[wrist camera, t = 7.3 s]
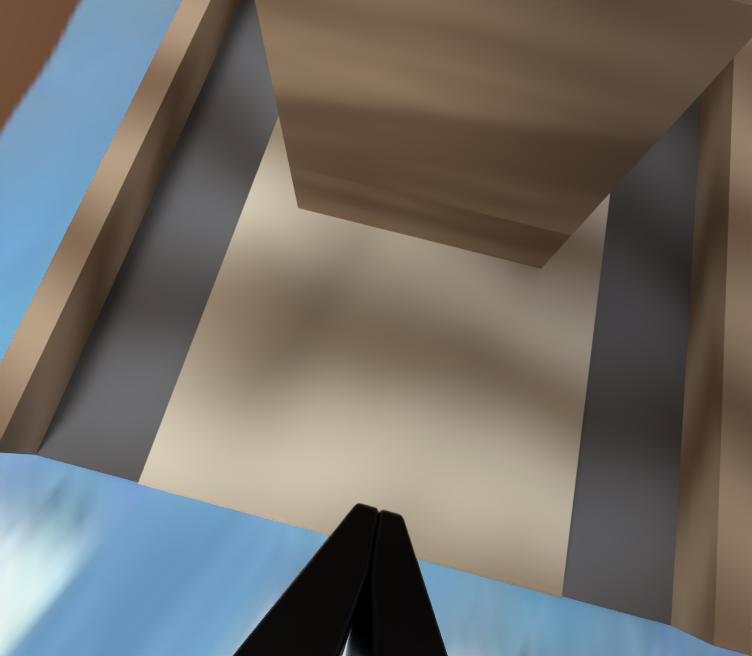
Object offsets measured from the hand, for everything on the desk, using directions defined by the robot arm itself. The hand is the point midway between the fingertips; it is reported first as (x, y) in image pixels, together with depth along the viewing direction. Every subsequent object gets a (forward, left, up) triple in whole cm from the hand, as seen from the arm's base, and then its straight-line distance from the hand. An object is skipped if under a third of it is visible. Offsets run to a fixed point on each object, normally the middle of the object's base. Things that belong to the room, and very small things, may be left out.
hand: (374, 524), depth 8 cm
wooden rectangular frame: (+11, -3, -7) cm, 13 cm away
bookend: (+15, -4, -6) cm, 17 cm away
